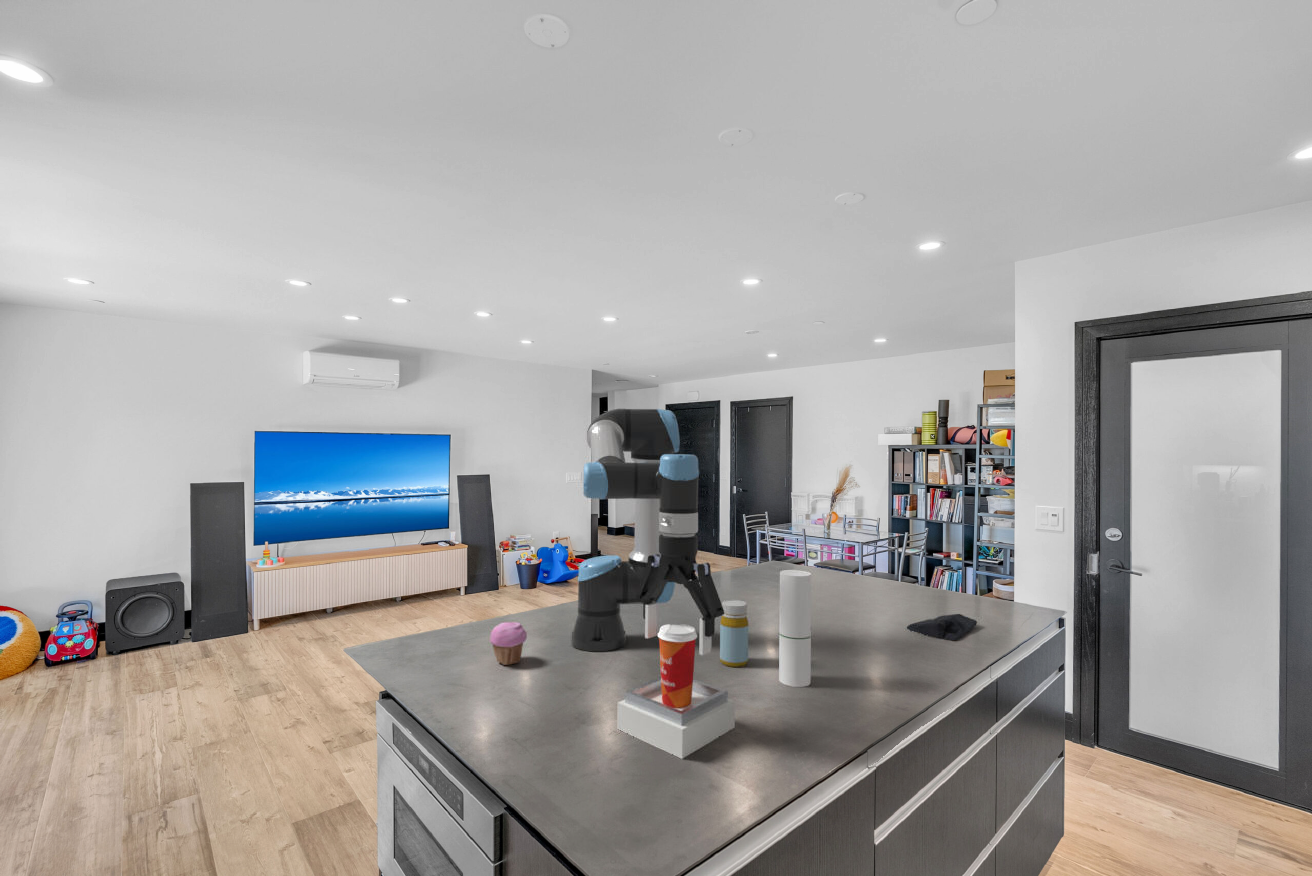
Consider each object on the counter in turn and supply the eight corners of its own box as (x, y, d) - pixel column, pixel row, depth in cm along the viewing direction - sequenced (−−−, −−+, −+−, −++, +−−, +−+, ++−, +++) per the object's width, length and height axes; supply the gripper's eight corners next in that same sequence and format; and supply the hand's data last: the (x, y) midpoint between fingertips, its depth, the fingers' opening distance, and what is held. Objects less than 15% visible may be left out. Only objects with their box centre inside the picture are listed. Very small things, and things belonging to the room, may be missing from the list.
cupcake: (532, 662, 148) (533, 622, 148) (502, 671, 141) (503, 629, 141) (512, 654, 154) (513, 615, 154) (482, 662, 147) (483, 622, 147)
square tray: (617, 728, 113) (617, 691, 113) (671, 702, 125) (671, 669, 125) (682, 758, 102) (682, 717, 102) (734, 727, 114) (735, 690, 114)
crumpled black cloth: (986, 630, 181) (986, 614, 181) (953, 644, 167) (953, 627, 167) (936, 618, 193) (936, 604, 193) (901, 631, 179) (901, 615, 179)
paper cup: (655, 693, 117) (656, 622, 117) (693, 693, 118) (694, 622, 118) (658, 711, 109) (659, 635, 110) (699, 710, 110) (700, 634, 110)
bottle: (747, 668, 145) (747, 607, 145) (718, 666, 146) (719, 605, 147) (748, 659, 152) (749, 600, 152) (721, 656, 153) (721, 598, 153)
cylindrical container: (811, 677, 140) (812, 571, 140) (809, 688, 133) (809, 577, 134) (781, 673, 142) (781, 568, 143) (777, 684, 135) (777, 574, 136)
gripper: (619, 529, 120) (617, 634, 119) (719, 543, 103) (718, 666, 103) (644, 525, 125) (643, 626, 125) (743, 539, 109) (742, 655, 108)
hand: (677, 644), depth 114 cm, fingers open, 13 cm apart
